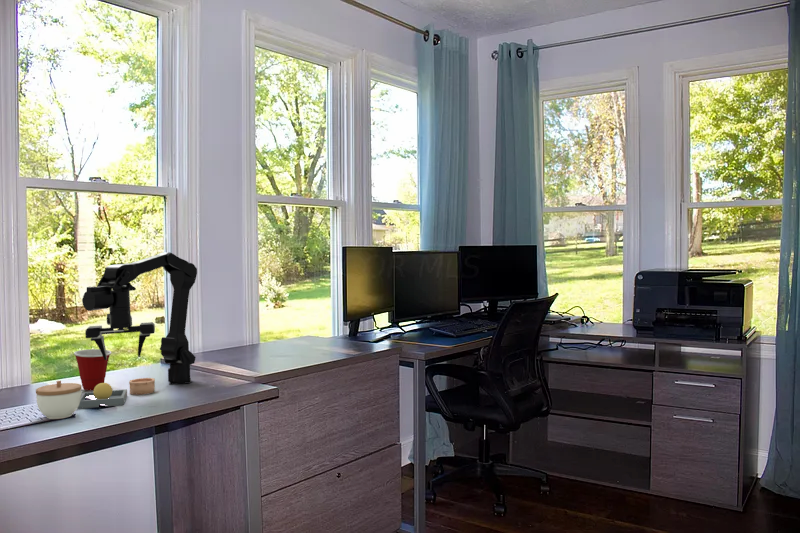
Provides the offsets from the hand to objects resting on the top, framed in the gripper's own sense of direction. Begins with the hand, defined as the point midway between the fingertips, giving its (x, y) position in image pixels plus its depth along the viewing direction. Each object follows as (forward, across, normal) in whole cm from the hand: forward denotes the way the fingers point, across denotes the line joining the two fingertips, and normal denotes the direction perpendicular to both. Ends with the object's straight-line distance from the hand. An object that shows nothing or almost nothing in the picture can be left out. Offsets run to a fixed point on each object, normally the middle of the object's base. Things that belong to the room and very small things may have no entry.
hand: (122, 358), depth 192 cm
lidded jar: (+11, +14, +19) cm, 26 cm away
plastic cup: (+12, +10, -15) cm, 22 cm away
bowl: (+12, -5, -4) cm, 13 cm away
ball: (+10, +5, +6) cm, 13 cm away
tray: (+11, +5, +6) cm, 14 cm away
